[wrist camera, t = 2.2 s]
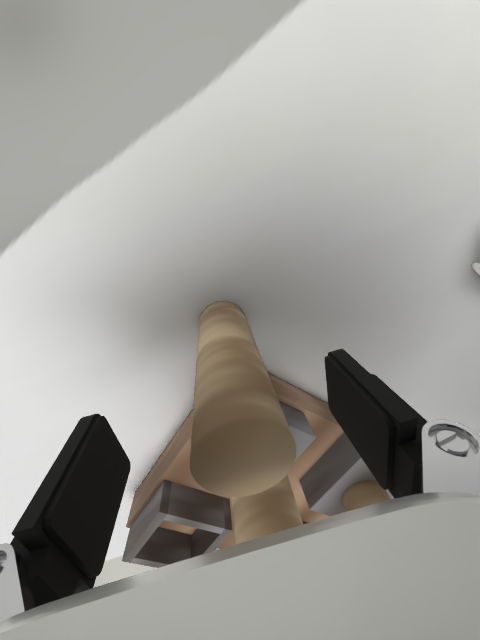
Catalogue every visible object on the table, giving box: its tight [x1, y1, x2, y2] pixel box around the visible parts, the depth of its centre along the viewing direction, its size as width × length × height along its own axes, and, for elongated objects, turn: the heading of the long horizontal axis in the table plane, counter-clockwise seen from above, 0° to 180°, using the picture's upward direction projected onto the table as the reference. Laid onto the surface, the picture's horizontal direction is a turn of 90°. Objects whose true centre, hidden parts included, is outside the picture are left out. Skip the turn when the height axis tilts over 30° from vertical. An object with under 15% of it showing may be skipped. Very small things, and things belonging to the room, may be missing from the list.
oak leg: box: [190, 301, 297, 497], centre depth 14 cm, size 4×4×12 cm
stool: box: [122, 374, 394, 568], centre depth 18 cm, size 18×18×15 cm
